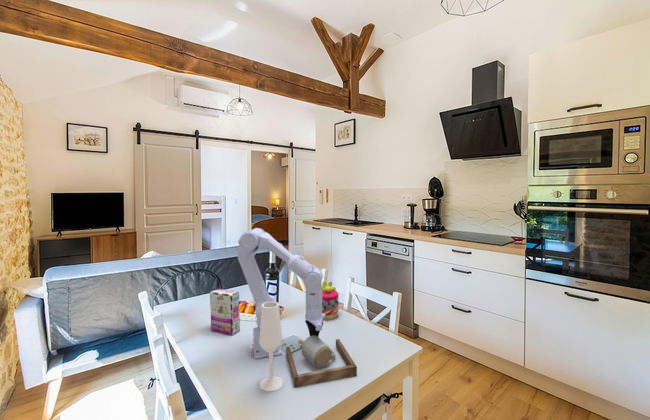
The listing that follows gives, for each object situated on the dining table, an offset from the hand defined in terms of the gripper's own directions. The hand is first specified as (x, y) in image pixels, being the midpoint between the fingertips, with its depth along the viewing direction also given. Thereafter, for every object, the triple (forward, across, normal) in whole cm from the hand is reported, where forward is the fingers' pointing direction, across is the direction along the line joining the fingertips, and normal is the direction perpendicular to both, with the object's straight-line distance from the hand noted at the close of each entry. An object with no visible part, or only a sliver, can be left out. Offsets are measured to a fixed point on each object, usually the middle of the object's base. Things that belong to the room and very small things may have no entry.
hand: (314, 341), depth 101 cm
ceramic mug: (+5, -5, -1) cm, 7 cm away
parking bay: (+4, -6, 0) cm, 8 cm away
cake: (+5, +28, -13) cm, 31 cm away
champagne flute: (+5, -12, +16) cm, 21 cm away
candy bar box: (+5, +26, +31) cm, 41 cm away
